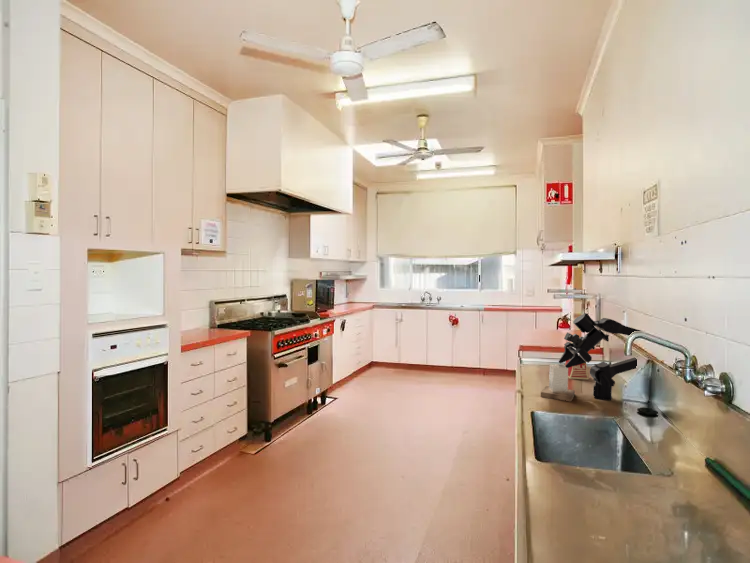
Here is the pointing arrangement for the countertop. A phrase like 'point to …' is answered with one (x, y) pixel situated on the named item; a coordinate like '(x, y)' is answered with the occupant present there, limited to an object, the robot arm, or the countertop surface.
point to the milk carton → (577, 371)
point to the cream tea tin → (558, 378)
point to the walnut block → (558, 394)
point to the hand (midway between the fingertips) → (562, 364)
